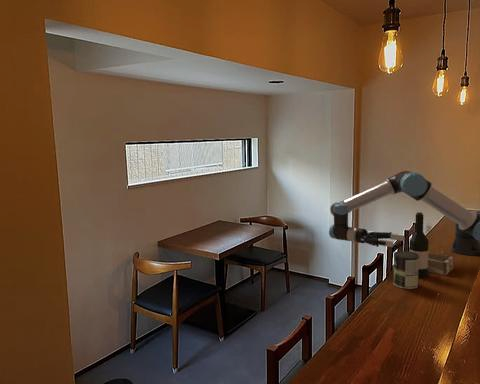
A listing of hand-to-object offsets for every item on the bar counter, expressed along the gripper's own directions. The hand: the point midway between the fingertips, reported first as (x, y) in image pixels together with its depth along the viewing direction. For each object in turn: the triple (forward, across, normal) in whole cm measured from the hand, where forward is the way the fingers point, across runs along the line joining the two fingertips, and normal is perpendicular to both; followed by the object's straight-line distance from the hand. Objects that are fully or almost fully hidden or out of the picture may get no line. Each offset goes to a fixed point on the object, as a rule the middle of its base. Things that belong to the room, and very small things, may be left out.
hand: (398, 241), depth 192 cm
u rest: (+14, -13, -15) cm, 24 cm away
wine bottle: (+10, 0, -15) cm, 18 cm away
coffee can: (+10, +16, -15) cm, 24 cm away
